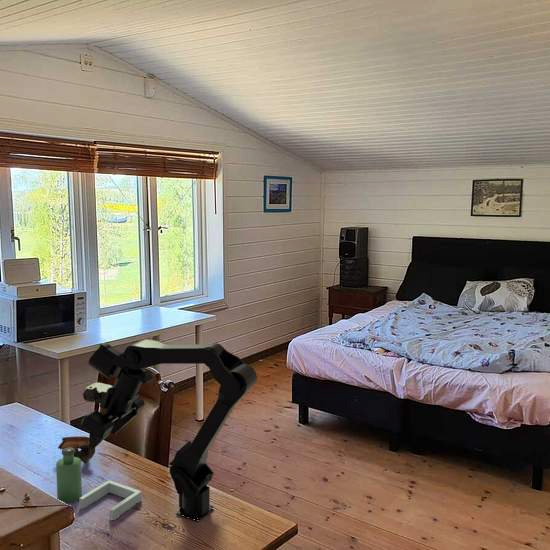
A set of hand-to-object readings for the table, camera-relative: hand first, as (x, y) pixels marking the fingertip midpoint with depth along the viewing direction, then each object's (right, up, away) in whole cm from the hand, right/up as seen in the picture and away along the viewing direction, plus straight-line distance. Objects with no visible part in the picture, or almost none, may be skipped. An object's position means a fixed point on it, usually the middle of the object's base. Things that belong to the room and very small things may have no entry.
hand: (102, 440), depth 136 cm
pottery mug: (-12, -11, +17) cm, 24 cm away
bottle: (-8, -14, 0) cm, 16 cm away
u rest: (+3, -14, -3) cm, 15 cm away
